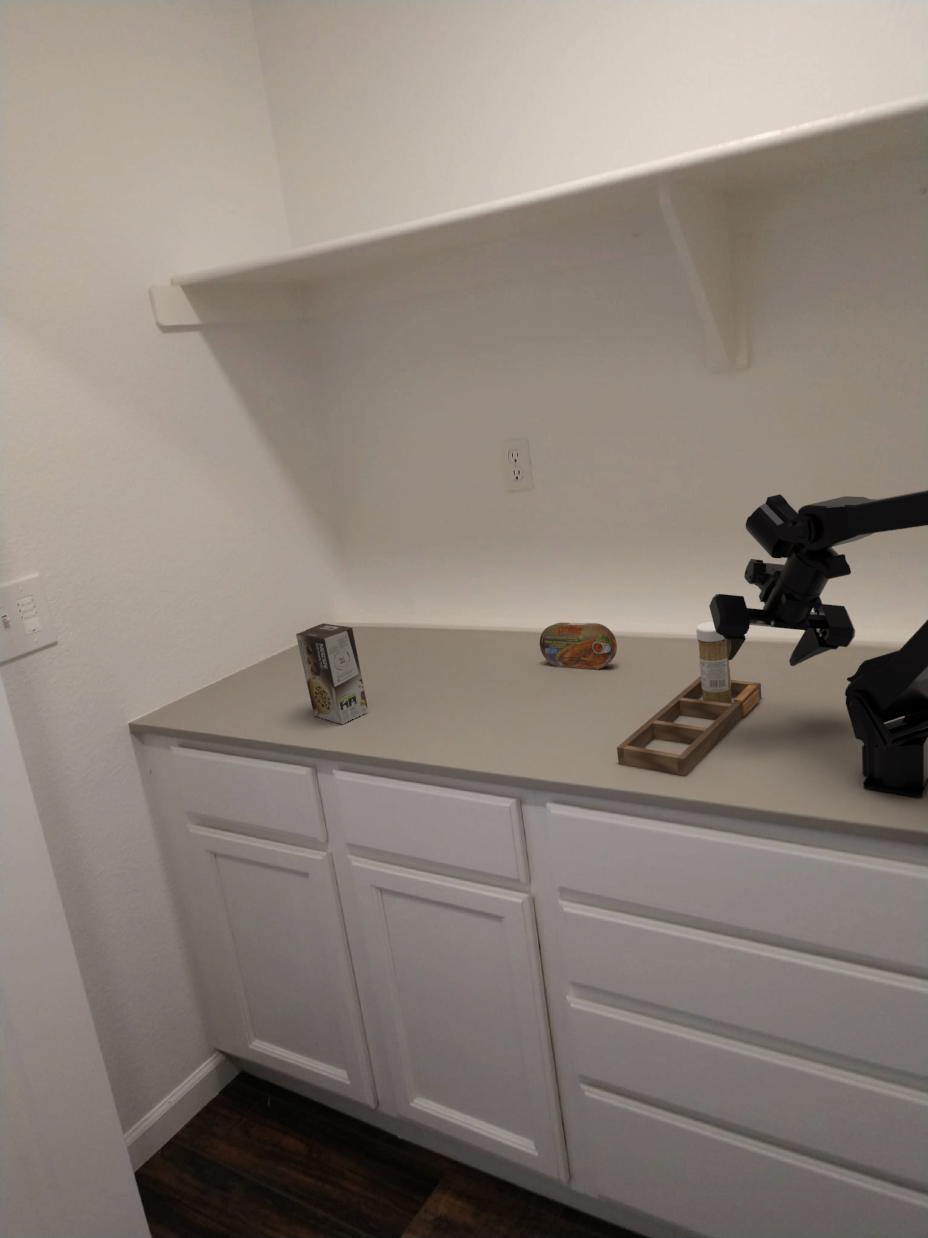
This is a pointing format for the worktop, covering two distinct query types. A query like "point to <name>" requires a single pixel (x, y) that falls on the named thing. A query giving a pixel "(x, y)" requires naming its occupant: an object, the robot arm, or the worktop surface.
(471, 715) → the worktop surface
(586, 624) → the tin
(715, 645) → the sprinkles bottle
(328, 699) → the coffee box
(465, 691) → the worktop surface
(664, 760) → the rack
